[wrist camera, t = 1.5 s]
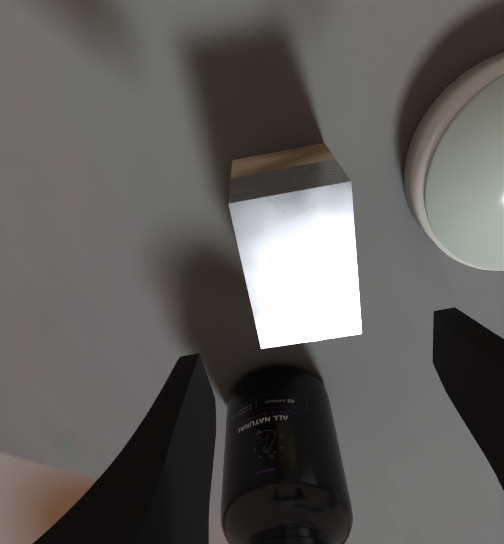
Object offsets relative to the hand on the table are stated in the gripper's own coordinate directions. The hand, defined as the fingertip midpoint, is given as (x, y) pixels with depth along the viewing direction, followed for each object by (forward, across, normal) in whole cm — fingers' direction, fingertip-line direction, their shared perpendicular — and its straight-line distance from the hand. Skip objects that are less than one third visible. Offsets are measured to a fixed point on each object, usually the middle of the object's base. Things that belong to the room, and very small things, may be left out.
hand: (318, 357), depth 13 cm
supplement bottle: (+11, +3, +13) cm, 17 cm away
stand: (+10, -11, -1) cm, 15 cm away
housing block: (+11, 0, 0) cm, 11 cm away
